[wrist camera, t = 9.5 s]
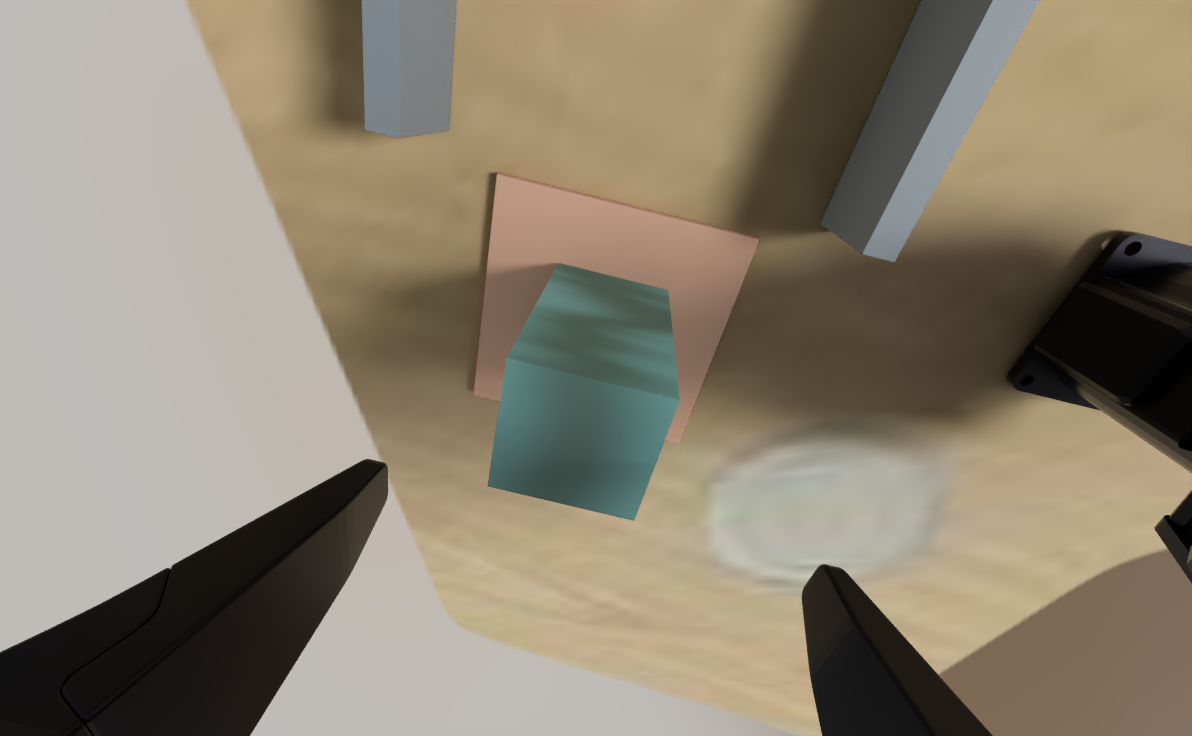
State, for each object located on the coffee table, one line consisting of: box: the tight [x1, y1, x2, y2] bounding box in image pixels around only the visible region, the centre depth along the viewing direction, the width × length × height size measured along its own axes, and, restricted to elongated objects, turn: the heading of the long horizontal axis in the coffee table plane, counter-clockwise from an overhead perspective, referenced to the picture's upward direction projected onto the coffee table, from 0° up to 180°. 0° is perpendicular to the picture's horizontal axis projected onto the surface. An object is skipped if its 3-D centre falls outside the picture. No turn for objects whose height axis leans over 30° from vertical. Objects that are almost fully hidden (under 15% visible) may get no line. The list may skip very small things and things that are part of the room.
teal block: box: [488, 263, 680, 521], centre depth 17 cm, size 4×4×8 cm
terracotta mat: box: [473, 173, 760, 444], centre depth 20 cm, size 10×10×1 cm
